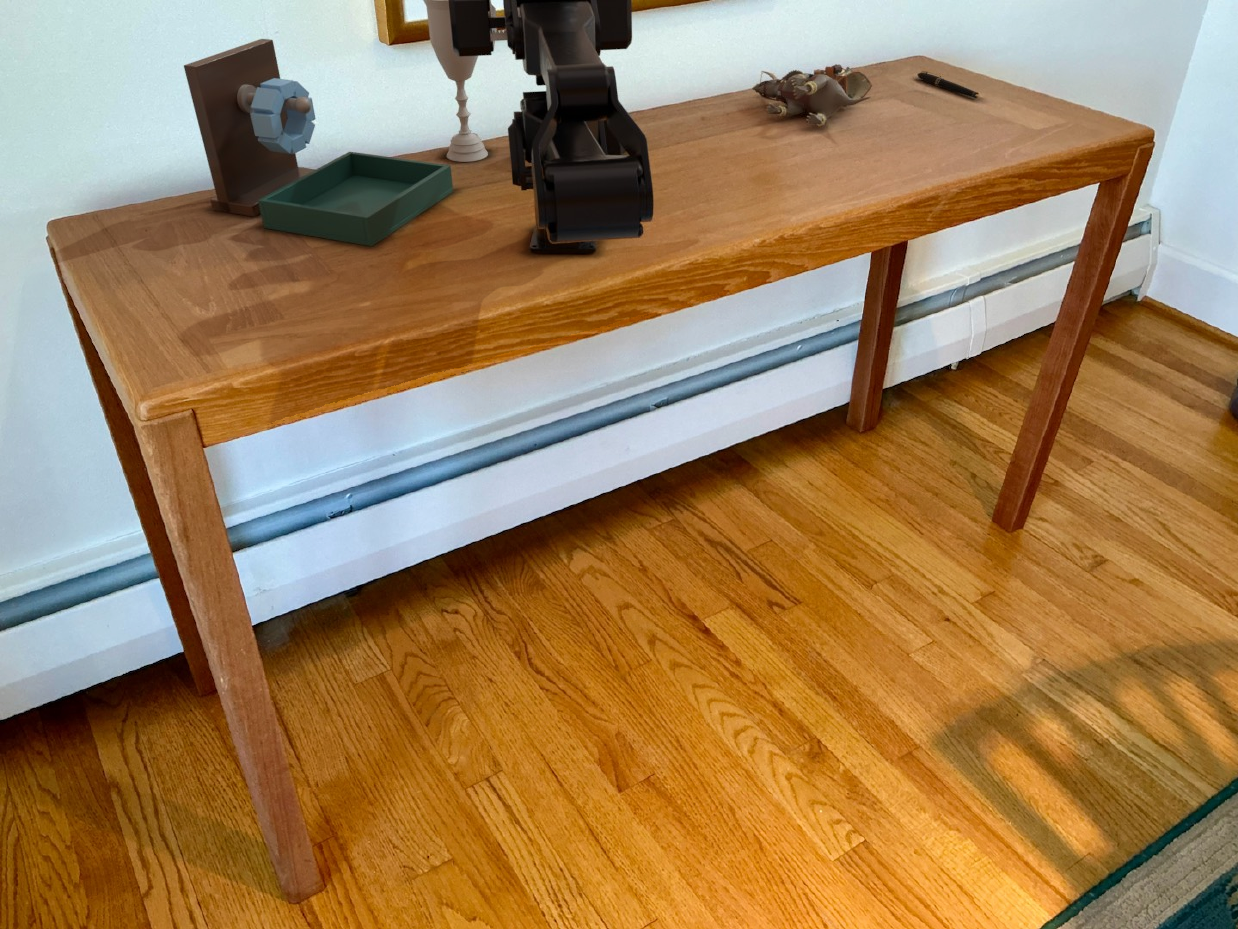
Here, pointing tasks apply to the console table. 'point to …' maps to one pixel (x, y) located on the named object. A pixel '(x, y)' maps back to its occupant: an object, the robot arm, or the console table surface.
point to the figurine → (815, 92)
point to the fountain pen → (946, 84)
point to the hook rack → (240, 126)
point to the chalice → (458, 70)
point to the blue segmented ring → (269, 120)
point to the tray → (357, 198)
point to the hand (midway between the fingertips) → (535, 13)
